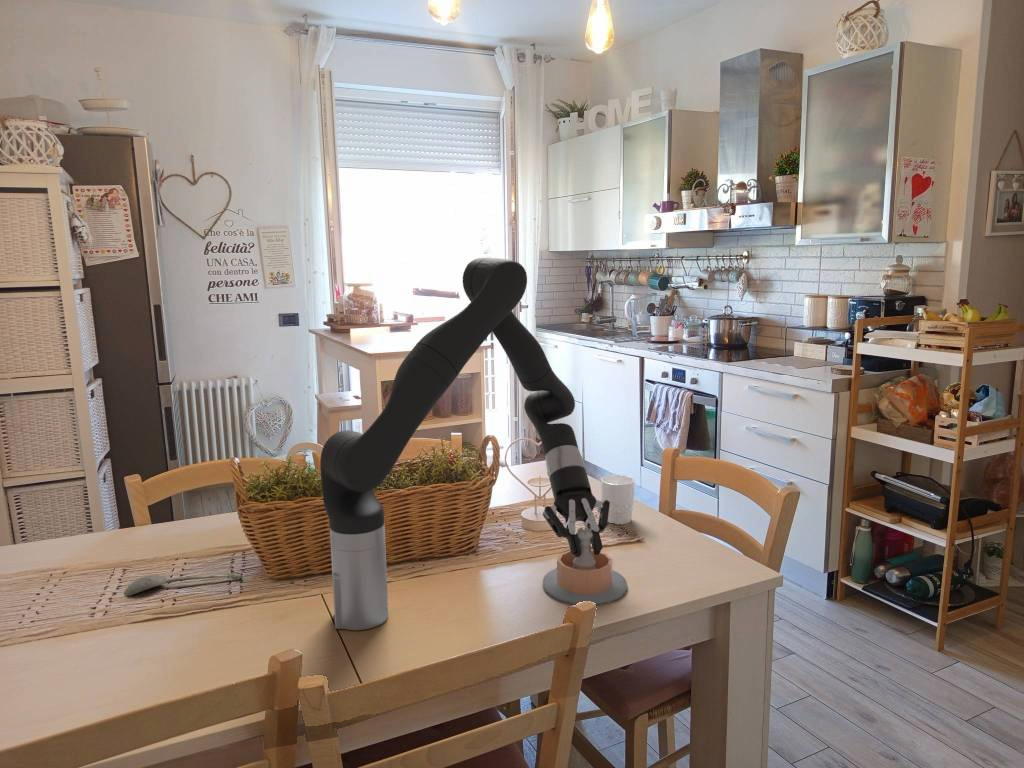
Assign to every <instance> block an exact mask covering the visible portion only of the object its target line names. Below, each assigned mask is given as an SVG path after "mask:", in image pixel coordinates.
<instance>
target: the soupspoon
mask: <svg viewBox="0 0 1024 768" xmlns="http://www.w3.org/2000/svg"><path fill="white" fill-rule="evenodd" d="M245 576H246V574H245V572H243V573H242V575H241V574H240V573H239V574H237V573H235V574H234V573H233V574H230V573H228V574H213V575H211V574H210V575H198V576H197V575H196V576H185V577H178V578H176V577H175V578H171V579H168V578H167V577H165V576H162V575H158V574H151V575H145V576H142V577H140V578H138V579H136V580H135V581H133V582H132V583H130V584H129V585H128V586H127V587H126V589H125V590H124V592H123V595H124V596H125V597H130V596H133V595H135V594H138V593H140V592H144V591H146V590H149V589H152V588H155V587H158V586H161V585H165V584H169V583H175V582H181V581H182V582H183V581H190V580H202V579H219V578H220V579H223V578H226V579H228V580H229V579H233V580H237V581H239V580H240V581H241V582H243V581H244V579H245Z"/></svg>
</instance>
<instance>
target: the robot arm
mask: <svg viewBox="0 0 1024 768" xmlns="http://www.w3.org/2000/svg"><path fill="white" fill-rule="evenodd" d="M462 274H463V275H462V287H463V290H464V291H463V292H464V293H465V294H466V295H465V296H466V297H467V298H468V300H469V301H470V303H468V305H467V306H465V308H463V310H461V311H460V312H458V313H457V314H455V315H454V316H452V317H451V318H449V319H448V320H446V321H444V322H442V323H441V324H439V325H437V326H436V327H434V328H433V329H432V330H431V331H429V332H427V333H426V334H425V335H424V336H423V337H422V338H420V339H419V341H418V342H417V343H416V344H415V345H414V346H413V348H412V349H411V351H410V352H409V353H408V354H407V355H406V357H405V358H404V359H403V361H402V362H401V363H400V365H399V367H398V369H397V371H396V374H395V377H394V380H393V382H392V383H393V384H392V386H391V390H390V394H389V397H388V401H387V403H386V405H385V407H384V408H383V409H382V411H381V413H380V414H379V415H378V416H377V418H376V419H375V421H374V422H373V423H372V424H371V425H370V426H369V427H368V428H367V429H366V431H365V432H363V433H361V432H358V431H355V430H354V431H353V430H346V429H345V430H340V431H338V432H335V433H334V434H332V435H331V436H329V438H327V440H326V441H325V442H324V445H323V447H322V450H321V453H320V461H319V462H320V463H319V464H320V465H319V467H320V480H321V489H322V499H323V506H324V510H325V513H326V516H327V517H328V518H327V519H328V522H329V525H328V526H329V534H330V535H329V536H330V556H331V557H330V558H331V574H332V575H331V578H332V591H333V610H334V611H333V613H334V629H335V630H340V629H341V630H342V629H344V630H348V631H364V630H368V629H373V628H376V627H378V626H380V625H382V624H383V623H385V622H386V620H387V619H388V617H389V602H388V601H389V597H388V575H387V574H388V571H387V553H386V551H387V550H386V547H387V546H386V528H385V526H386V524H385V509H384V507H383V505H382V504H381V501H379V499H378V498H377V496H376V494H375V491H374V489H376V488H378V487H379V486H380V485H381V483H383V482H384V481H385V480H386V478H387V477H388V475H390V472H391V471H392V469H393V468H394V467H395V465H396V462H397V461H398V460H399V458H400V456H401V455H402V453H403V451H404V449H405V448H406V447H407V444H408V443H409V441H410V440H411V439H412V437H413V435H414V434H415V432H416V431H417V430H418V429H419V428H420V425H422V423H423V421H424V420H425V419H426V418H427V416H428V415H429V413H430V412H431V410H432V409H433V408H434V406H435V405H436V404H437V402H438V401H439V400H440V399H441V398H442V397H443V395H445V393H446V392H447V390H448V389H449V387H451V385H452V384H453V382H454V381H455V380H456V379H457V377H458V375H460V373H461V371H462V370H463V369H464V367H465V366H466V364H467V363H468V362H469V360H470V359H471V358H472V357H473V355H474V354H475V353H476V352H477V350H479V348H480V347H481V346H482V344H483V343H484V342H485V340H486V339H487V338H488V337H489V336H490V335H491V333H493V335H494V337H495V338H496V339H497V340H498V343H499V344H500V345H501V348H502V349H503V351H504V353H505V355H506V356H507V358H508V360H509V362H510V364H511V366H512V368H513V370H514V372H515V374H516V376H517V379H518V380H519V382H520V385H521V386H522V387H523V389H525V390H526V391H528V392H533V393H530V394H529V395H528V396H526V398H525V401H524V405H523V406H524V411H525V414H526V415H527V417H528V419H529V421H530V422H531V424H532V425H533V427H534V429H536V432H537V435H538V436H539V439H540V441H541V445H542V449H543V453H544V457H545V458H544V459H545V466H546V470H547V476H548V479H549V483H550V486H551V487H550V488H551V491H552V495H553V500H554V502H553V505H547V506H545V507H544V510H543V512H542V516H543V518H544V519H545V521H546V522H547V523H548V525H549V526H550V527H551V529H552V530H553V532H554V534H555V535H556V537H558V538H562V537H563V538H566V539H567V542H568V546H569V550H571V553H572V555H573V554H574V555H575V557H580V555H581V549H580V545H579V541H578V537H577V535H576V522H578V521H579V522H582V524H583V526H584V528H587V530H588V529H591V533H592V534H593V536H592V538H591V542H592V543H591V549H592V550H593V552H594V555H599V553H600V552H602V550H603V543H602V538H601V535H600V534H601V533H602V534H603V532H604V531H605V529H606V528H607V527H608V523H607V522H608V514H609V507H610V502H609V501H607V500H605V501H604V502H602V500H598V499H597V498H596V497H595V496H594V494H593V492H592V488H591V483H590V481H589V477H588V473H587V470H586V466H585V463H584V458H583V456H582V454H581V451H580V449H579V446H578V442H577V439H576V438H577V437H576V435H575V431H574V429H573V427H572V426H571V425H570V424H567V423H560V422H558V423H551V422H555V421H557V420H560V419H564V418H566V417H569V416H571V415H572V414H573V412H574V410H575V407H576V402H575V397H574V395H573V393H572V391H570V389H569V387H568V386H567V385H566V384H565V383H564V382H562V380H561V379H560V378H559V377H558V376H557V374H555V372H554V371H553V369H552V367H551V365H550V362H549V361H548V358H547V356H546V353H545V352H544V349H543V348H542V346H541V344H540V342H538V340H537V339H536V337H535V336H534V335H533V334H532V333H531V332H530V331H529V330H528V329H527V327H526V326H525V325H524V324H523V323H522V322H521V321H520V320H519V318H518V317H517V316H516V315H515V313H514V312H513V310H514V309H515V308H516V306H517V305H519V303H520V302H521V300H522V299H523V297H524V294H525V292H526V290H527V284H528V274H527V271H526V269H525V268H524V266H523V265H522V264H521V263H519V262H517V261H515V260H513V259H509V258H508V259H507V258H497V257H477V258H475V259H472V260H471V261H469V262H468V264H467V265H466V266H465V268H464V271H463V273H462ZM595 507H596V511H597V512H598V513H599V515H598V522H597V521H596V517H595V515H594V513H593V511H594V508H595ZM558 513H559V515H560V516H562V518H564V524H563V523H562V522H561V520H560V518H559V517H558V515H557V514H558Z"/></svg>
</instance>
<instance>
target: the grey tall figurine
mask: <svg viewBox="0 0 1024 768" xmlns="http://www.w3.org/2000/svg"><path fill="white" fill-rule="evenodd" d="M575 535H577V537H578V541H579V545H580V549H581V555H580V557H575V559H574V560H573V564H574V565H573V568H574V569H581V570H592V569H596V567H595V564H596V563H595V560H594V559H593V556H592V554H591V550H592V544H591V543H592V542H591V538H592V536H593V534H592V533H591V529H587V527H584V528H583V527H580V528H578V529H577V532H575Z"/></svg>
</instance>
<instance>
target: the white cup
mask: <svg viewBox="0 0 1024 768" xmlns="http://www.w3.org/2000/svg"><path fill="white" fill-rule="evenodd" d="M600 482H601V483H600V485H601V501H602V502H604V501H605V500H607V501H609V502H610V507H609V514H608V522H610V523H616V524H615V525H619V524H620V525H626V524H629V523H631V521H632V517H633V516H632V514H633V509H634V508H633V506H634V498H635V497H634V496H635V478H633V477H631V476H629V475H624V474H610V475H605V476H603V477H601V479H600ZM610 523H609V524H610Z"/></svg>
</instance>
